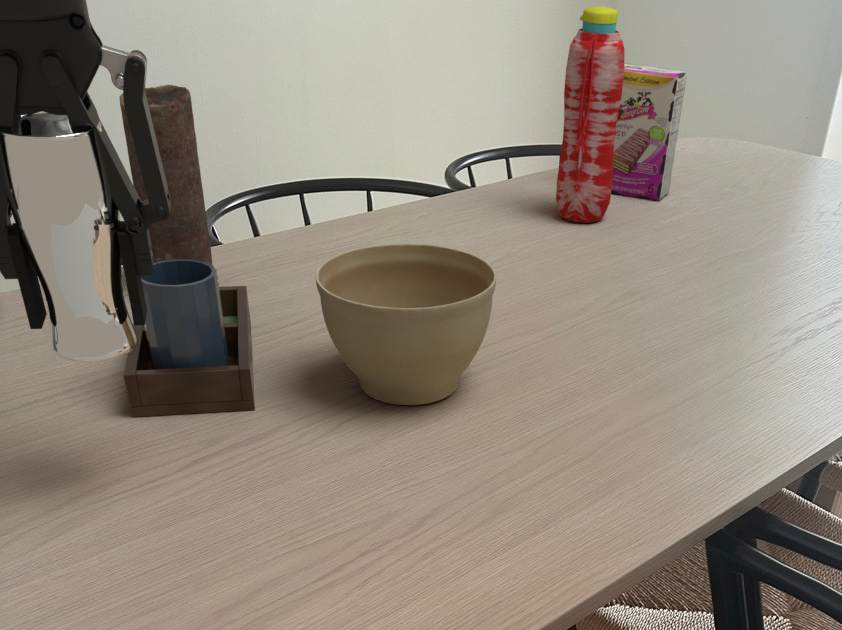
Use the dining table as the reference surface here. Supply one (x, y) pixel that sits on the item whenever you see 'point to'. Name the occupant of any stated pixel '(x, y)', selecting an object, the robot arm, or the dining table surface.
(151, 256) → the robot arm
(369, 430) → the dining table surface
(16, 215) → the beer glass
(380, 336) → the planter bowl
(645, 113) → the candy bar box
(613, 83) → the water bottle
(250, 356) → the glass rack
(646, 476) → the dining table surface
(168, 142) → the candle
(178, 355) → the tumbler
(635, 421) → the dining table surface
